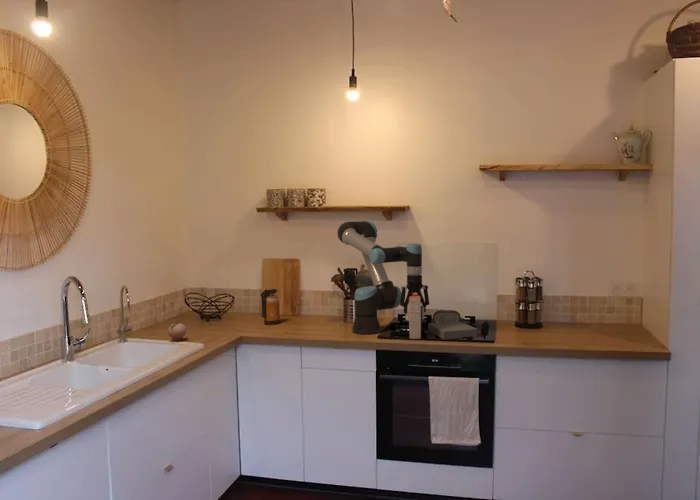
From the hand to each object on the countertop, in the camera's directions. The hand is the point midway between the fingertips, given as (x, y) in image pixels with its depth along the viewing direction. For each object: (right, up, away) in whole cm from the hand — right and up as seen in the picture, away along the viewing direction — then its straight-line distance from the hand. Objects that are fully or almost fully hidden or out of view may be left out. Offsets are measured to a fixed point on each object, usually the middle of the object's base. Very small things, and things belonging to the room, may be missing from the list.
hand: (414, 319), depth 295 cm
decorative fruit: (-120, -11, 0) cm, 120 cm away
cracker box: (0, -9, +1) cm, 9 cm away
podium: (+20, -8, +5) cm, 22 cm away
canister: (-78, -7, +39) cm, 88 cm away
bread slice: (+20, -7, +26) cm, 33 cm away
